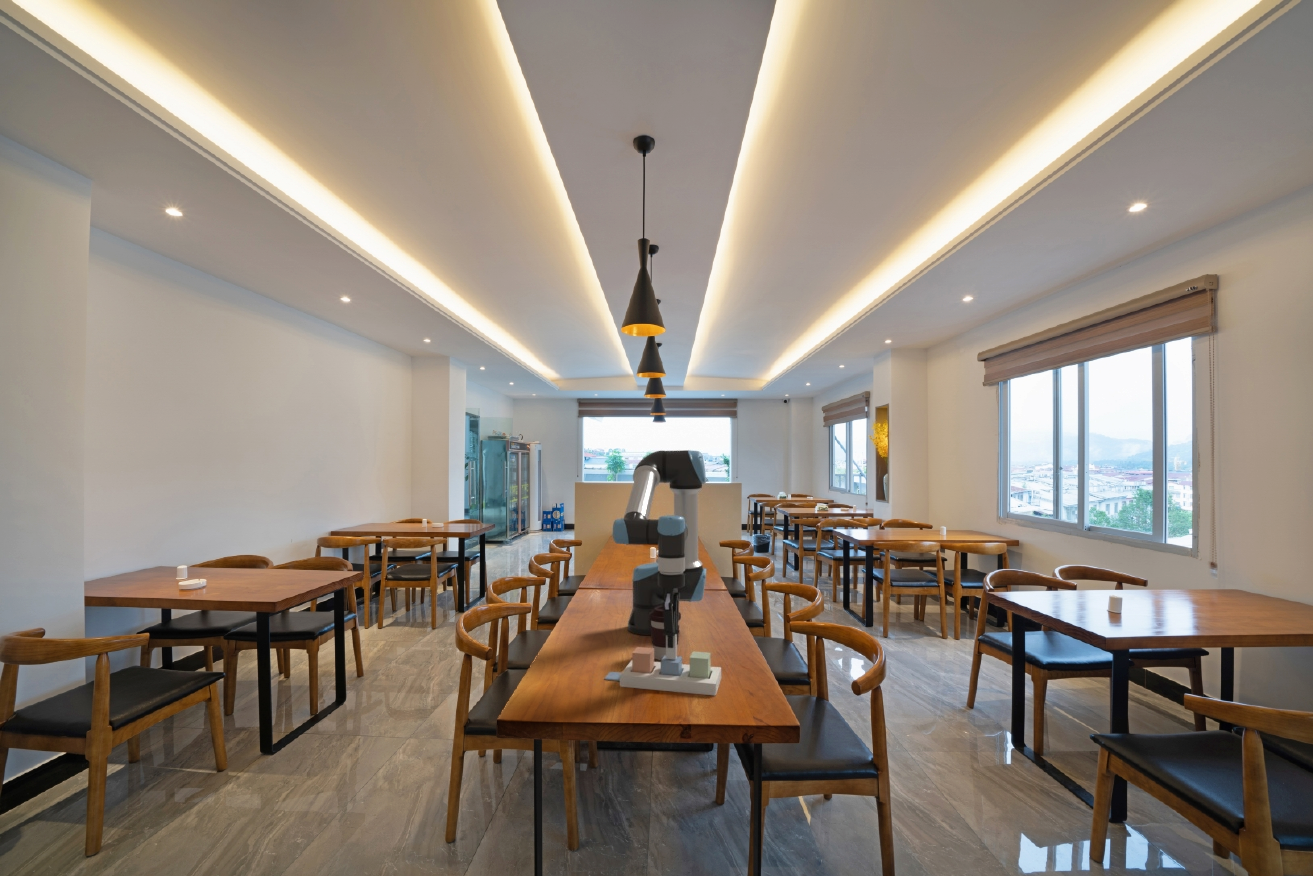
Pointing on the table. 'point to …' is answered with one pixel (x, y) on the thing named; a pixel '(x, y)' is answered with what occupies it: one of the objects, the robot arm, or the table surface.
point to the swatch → (613, 676)
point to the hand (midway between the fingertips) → (671, 658)
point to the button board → (671, 680)
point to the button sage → (700, 665)
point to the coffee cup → (659, 632)
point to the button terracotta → (643, 660)
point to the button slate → (671, 666)
